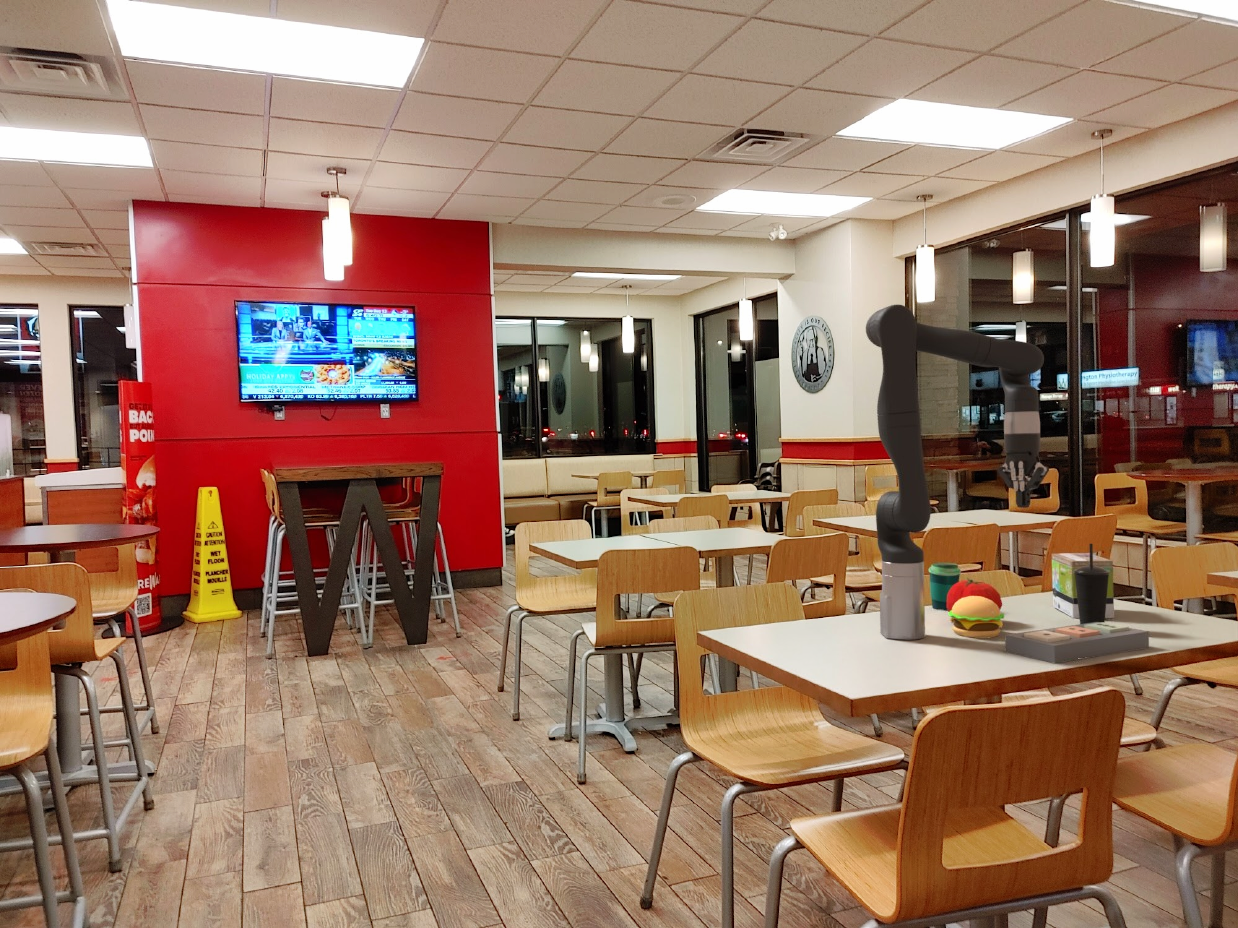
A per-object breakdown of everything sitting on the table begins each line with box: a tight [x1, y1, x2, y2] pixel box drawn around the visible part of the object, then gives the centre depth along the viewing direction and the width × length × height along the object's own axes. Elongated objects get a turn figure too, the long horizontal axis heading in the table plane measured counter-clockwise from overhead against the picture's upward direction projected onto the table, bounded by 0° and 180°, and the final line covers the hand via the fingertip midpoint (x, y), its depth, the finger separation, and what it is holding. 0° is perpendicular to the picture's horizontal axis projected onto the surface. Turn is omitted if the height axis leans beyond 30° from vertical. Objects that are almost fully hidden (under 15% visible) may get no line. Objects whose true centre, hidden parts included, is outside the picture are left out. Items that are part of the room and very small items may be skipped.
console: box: [1004, 622, 1150, 664], centre depth 185 cm, size 28×12×4 cm, turn 114°
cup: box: [928, 562, 962, 611], centre depth 235 cm, size 8×8×12 cm
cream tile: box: [1024, 631, 1070, 642], centre depth 182 cm, size 6×6×2 cm
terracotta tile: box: [1055, 625, 1100, 638], centre depth 185 cm, size 6×6×2 cm
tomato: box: [947, 577, 1003, 613], centre depth 216 cm, size 13×12×11 cm
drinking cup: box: [1073, 543, 1110, 624], centre depth 206 cm, size 8×8×20 cm
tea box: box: [1051, 552, 1115, 619], centre depth 225 cm, size 15×10×15 cm
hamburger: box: [947, 596, 1005, 639], centre depth 203 cm, size 12×12×9 cm
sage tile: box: [1084, 621, 1130, 633], centre depth 189 cm, size 6×6×2 cm
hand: (1023, 507), depth 202 cm, fingers closed
